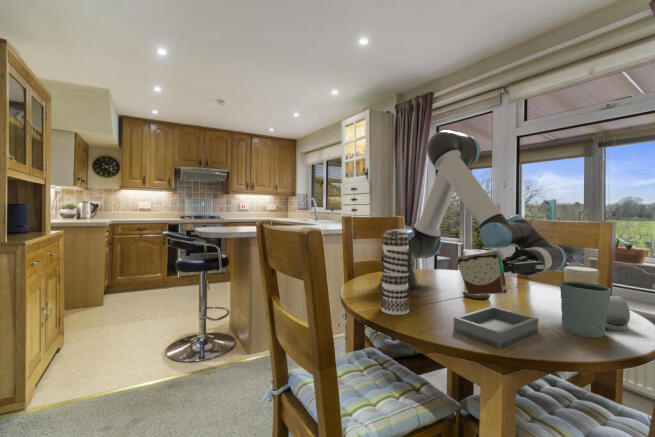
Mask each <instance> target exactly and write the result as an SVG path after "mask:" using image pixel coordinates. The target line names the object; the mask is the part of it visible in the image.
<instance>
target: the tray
mask: <svg viewBox="0 0 655 437" xmlns="http://www.w3.org/2000/svg"><path fill="white" fill-rule="evenodd" d="M453 331H454V332H456V333H458V334H461V335H463V336H466V337H469V338H472V339H475V340H477V341H480V342H481V343H482V342H483V343H484V344H488V345H490V346H493V347H496V348H498V349H502V348H505V347H507V346H509V345H511V344H514V343H516V342H518V341H520V340H523V339H525V338H528V337H530V336H532V335H534V334H536V333H538V332H539V318H538V317H534V316H531V315H527V314H523V313H520V312H515V311H511V310H508V309H504V308H501V307H500V308H499V307H496V306H488V307H485V308H482V309H478V310H475V311H472V312H468V313H464V314H461V315H458V316H454V317H453Z"/></svg>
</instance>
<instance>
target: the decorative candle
mask: <svg viewBox="0 0 655 437" xmlns="http://www.w3.org/2000/svg"><path fill="white" fill-rule="evenodd" d="M382 237H383V239H382V242H383V244H382V250H383V251H381V252H380V256H381V257H380V260H381V264H380V267H381V269H380V271H381V275H382V274H383V282H382V286H383V287H382V286H381V287H380V290H381V291H382V292H381V293H380V295H381V296H382V297H381V298H380V300H381V303H380V305H381V308H380V310H381V312H383V313H384V314H389V315H393V316H394V315H395V316H398V315H399V316H400V315H401V316H402V315H407V314H409V311H410V310H409V308H410V304H409V303H410V300H409V297H410V294H409V292H410V290H409V289H408V275H409V272H410V271H408V269H407V268H408V267H410V264H407V262H410V259H408V256H409V255H411V253H409V252H408V251H409V250H411V249H409V245H408V235H407V234H406V232H405V231H402V230H396V229H391V230H389V229H388V230H386V231H385V232H384V234H382Z"/></svg>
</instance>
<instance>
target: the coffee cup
mask: <svg viewBox="0 0 655 437" xmlns="http://www.w3.org/2000/svg"><path fill="white" fill-rule="evenodd" d="M563 271H564V274H563V276H564V281H574V282H584V283H591V284H596V285H599V278H600V274H601V273H600V271H599V269H598V268H593V267H587V266H576V265H575V266H572V265H571V266H570V265H569V266H565V267H564V268H563Z"/></svg>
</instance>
